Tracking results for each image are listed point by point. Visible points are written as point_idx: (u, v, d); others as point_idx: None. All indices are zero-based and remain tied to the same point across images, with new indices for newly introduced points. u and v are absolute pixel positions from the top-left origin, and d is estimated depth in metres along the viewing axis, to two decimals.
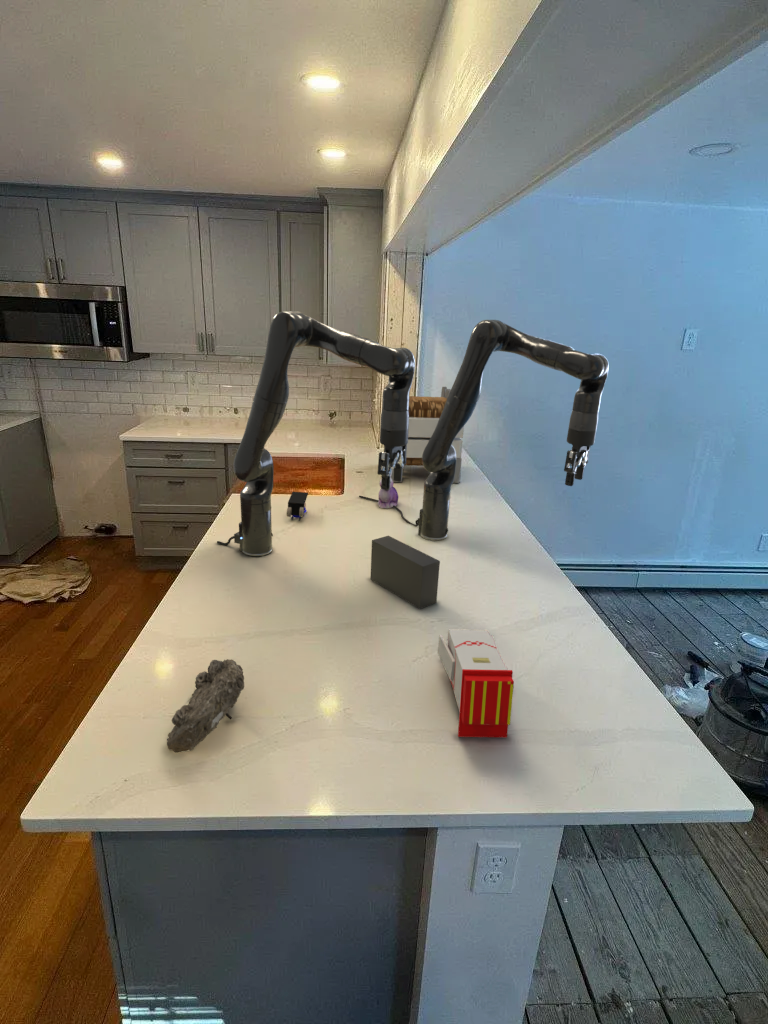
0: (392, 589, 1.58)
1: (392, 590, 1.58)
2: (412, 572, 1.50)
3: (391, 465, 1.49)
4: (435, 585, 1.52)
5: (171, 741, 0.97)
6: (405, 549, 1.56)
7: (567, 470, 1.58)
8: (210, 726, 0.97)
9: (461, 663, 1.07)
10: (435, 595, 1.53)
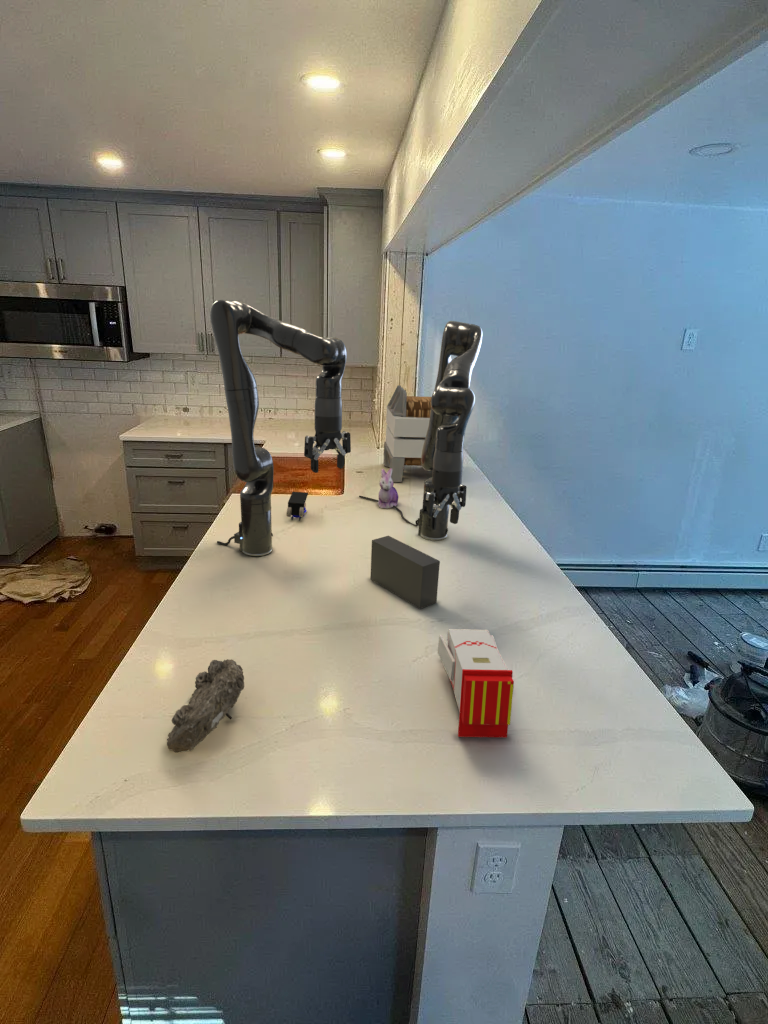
0: (392, 589, 1.58)
1: (392, 590, 1.58)
2: (412, 572, 1.50)
3: (318, 450, 1.56)
4: (435, 585, 1.52)
5: (171, 741, 0.97)
6: (405, 549, 1.56)
7: (424, 513, 1.43)
8: (210, 726, 0.97)
9: (461, 663, 1.07)
10: (435, 595, 1.53)
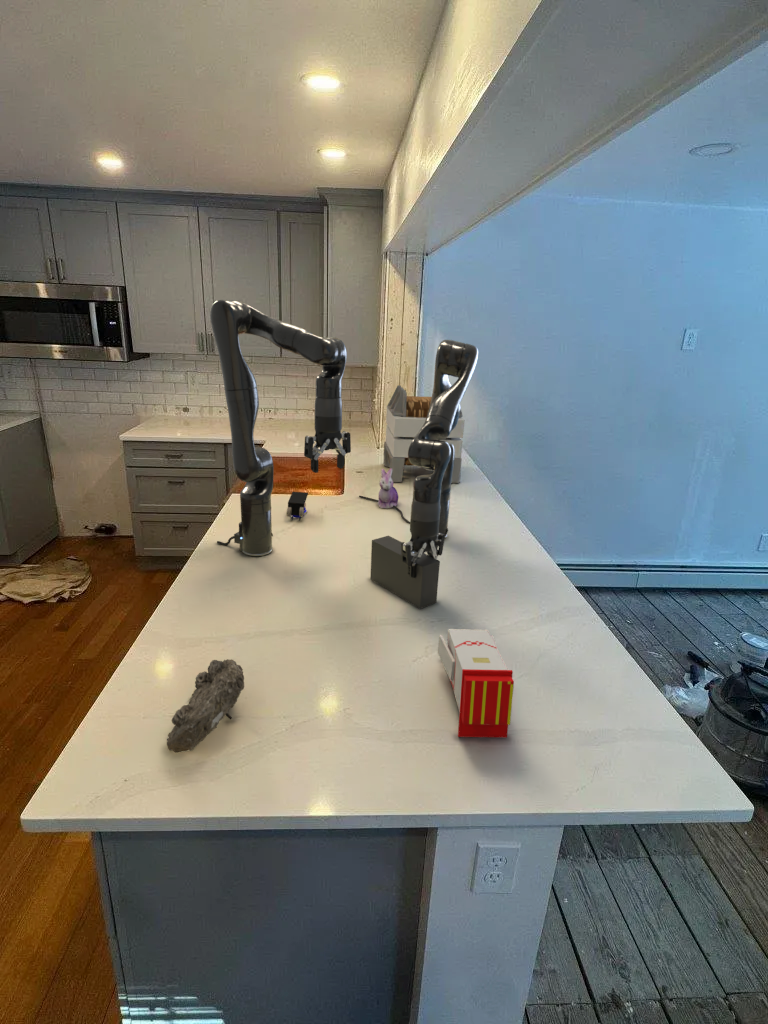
0: (392, 589, 1.58)
1: (392, 590, 1.58)
2: None
3: (318, 450, 1.56)
4: (435, 585, 1.52)
5: (171, 741, 0.97)
6: None
7: (404, 562, 1.47)
8: (210, 726, 0.97)
9: (461, 663, 1.07)
10: (435, 595, 1.53)
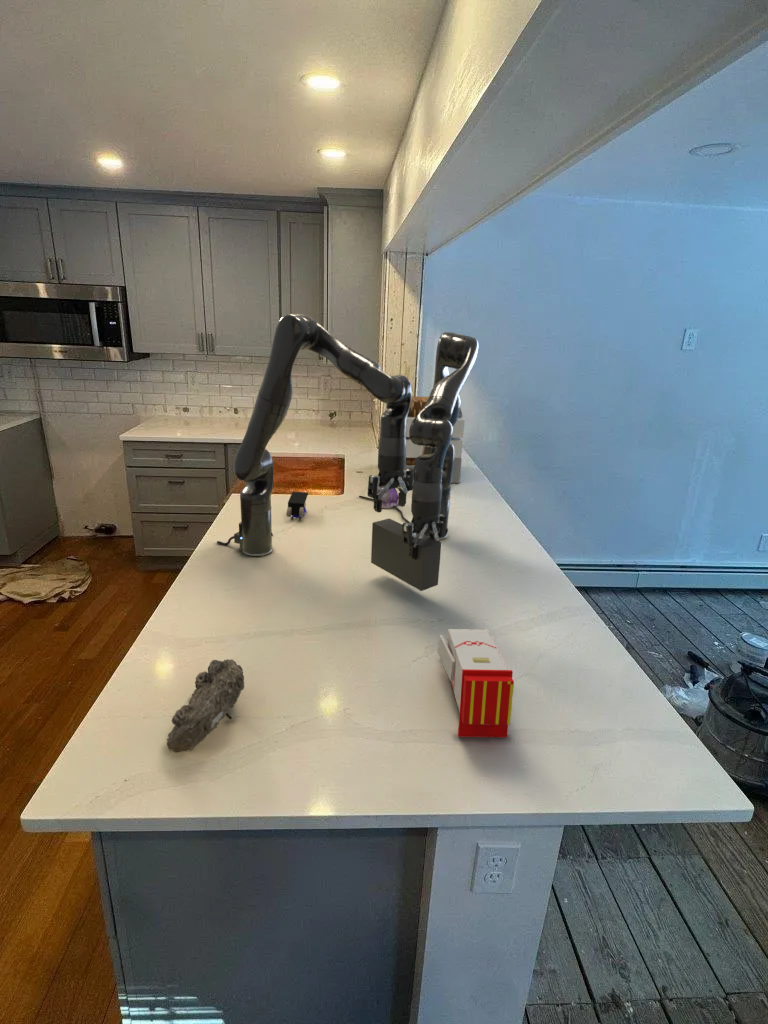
0: (393, 572, 1.56)
1: (393, 573, 1.57)
2: None
3: (382, 489, 1.52)
4: (436, 567, 1.50)
5: (171, 741, 0.97)
6: None
7: (405, 543, 1.45)
8: (210, 726, 0.97)
9: (461, 663, 1.07)
10: (436, 577, 1.51)
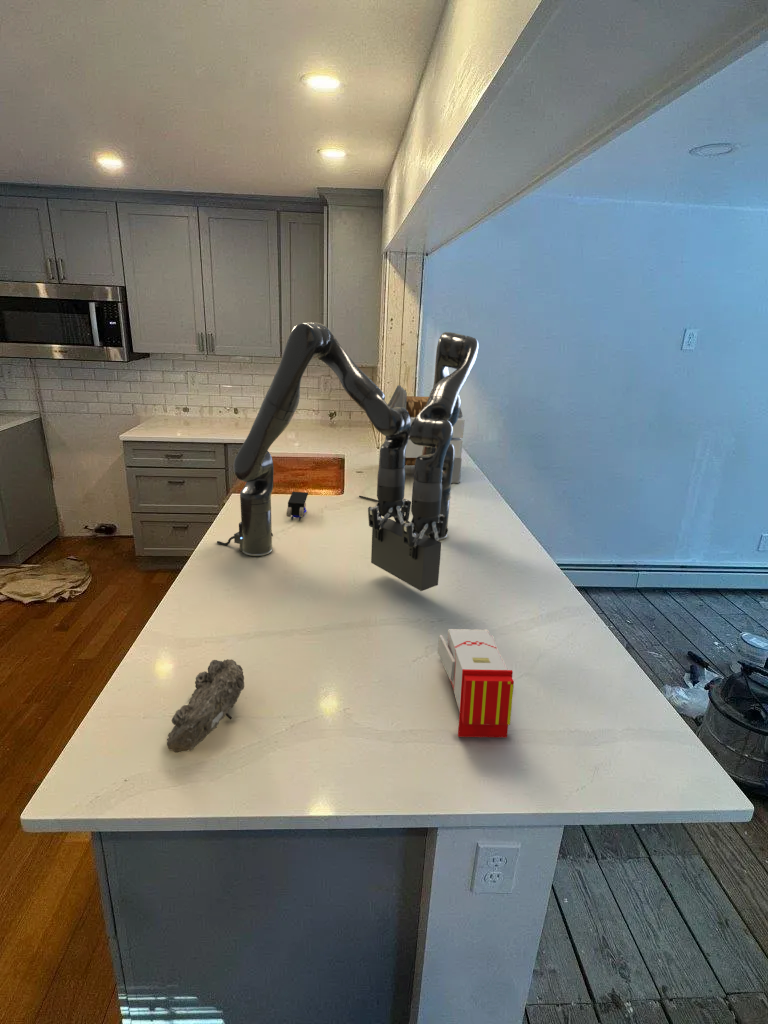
0: (393, 572, 1.56)
1: (393, 573, 1.57)
2: None
3: (382, 519, 1.55)
4: (437, 567, 1.50)
5: (171, 741, 0.97)
6: None
7: (405, 543, 1.45)
8: (210, 726, 0.97)
9: (461, 663, 1.07)
10: (437, 577, 1.51)
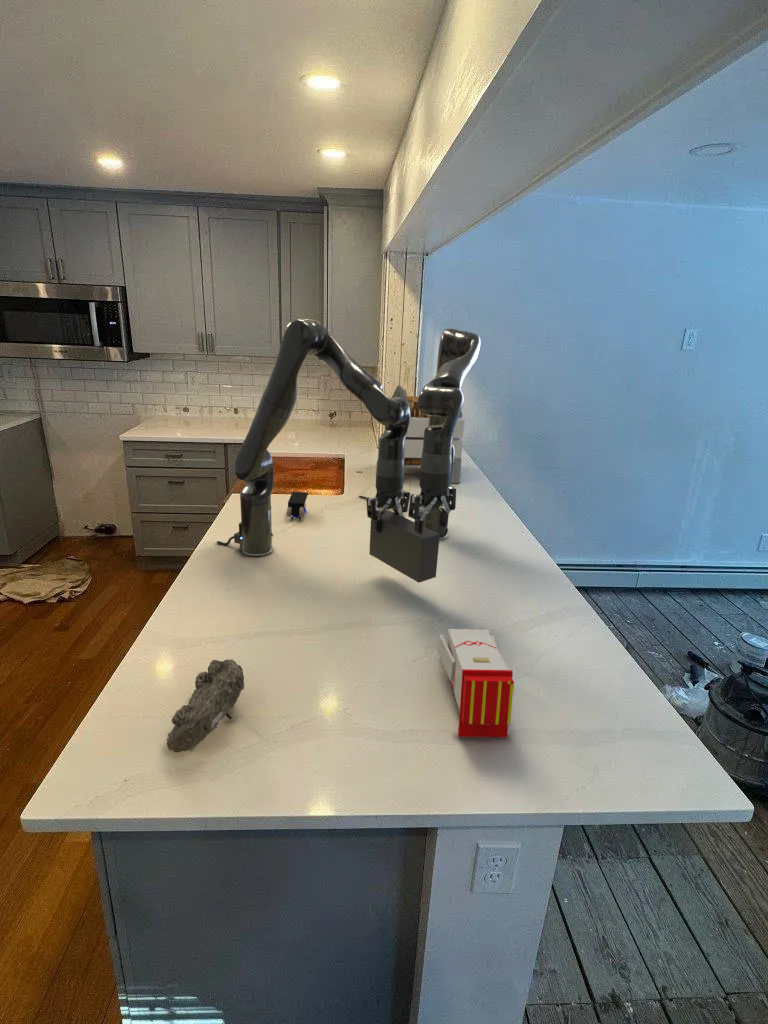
0: (391, 563, 1.55)
1: (391, 564, 1.56)
2: (412, 545, 1.47)
3: (381, 510, 1.54)
4: (435, 559, 1.49)
5: (171, 741, 0.97)
6: (405, 522, 1.53)
7: (411, 516, 1.40)
8: (210, 726, 0.97)
9: (461, 663, 1.07)
10: (434, 569, 1.50)
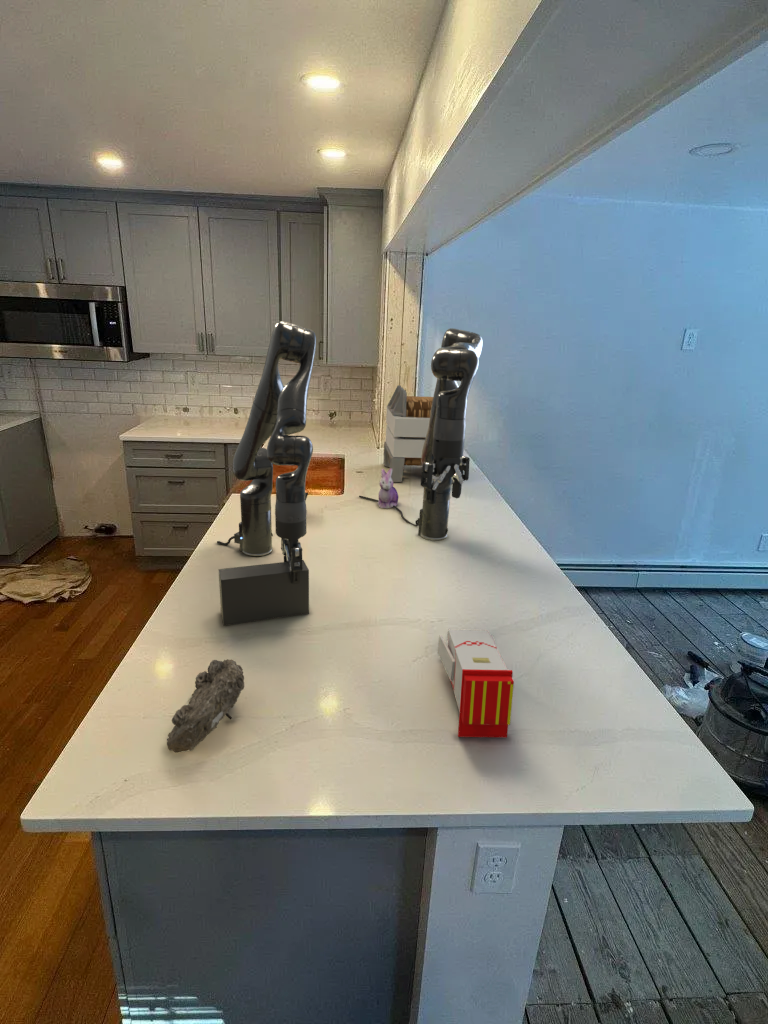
0: None
1: None
2: None
3: None
4: (222, 604, 1.37)
5: (171, 741, 0.97)
6: (265, 570, 1.40)
7: (423, 485, 1.34)
8: (210, 726, 0.97)
9: (461, 663, 1.07)
10: (222, 616, 1.38)
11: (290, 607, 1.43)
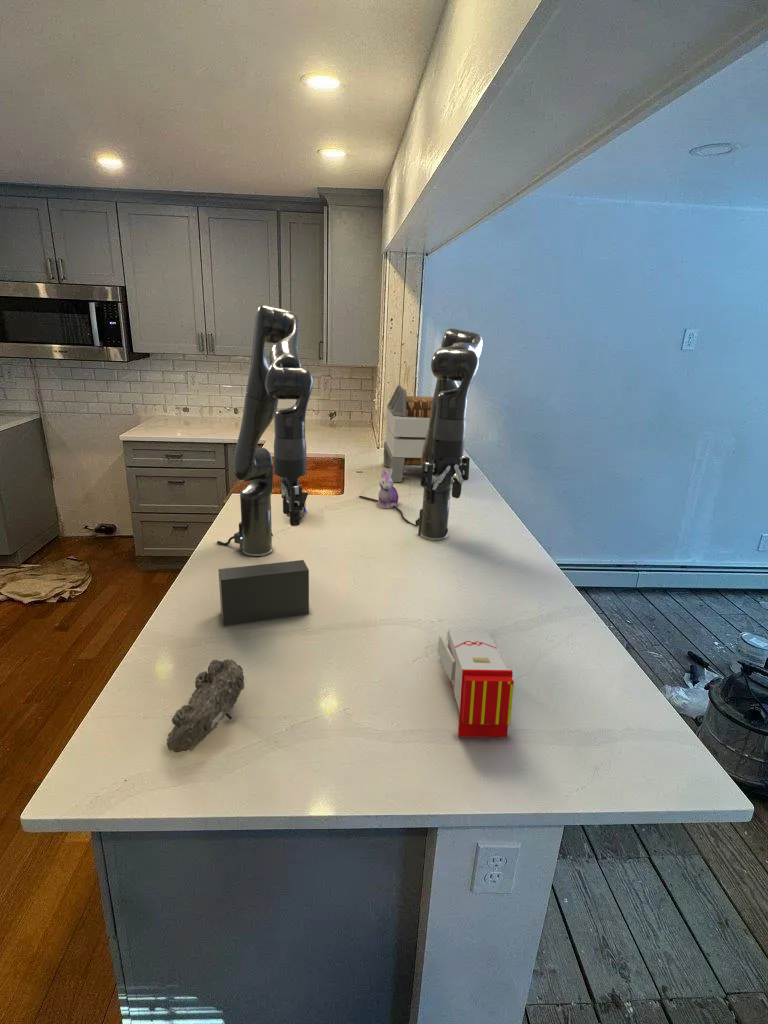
0: None
1: None
2: None
3: None
4: (222, 604, 1.37)
5: (171, 741, 0.97)
6: (265, 570, 1.40)
7: (423, 485, 1.34)
8: (210, 726, 0.97)
9: (461, 663, 1.07)
10: (222, 616, 1.38)
11: (290, 607, 1.43)
